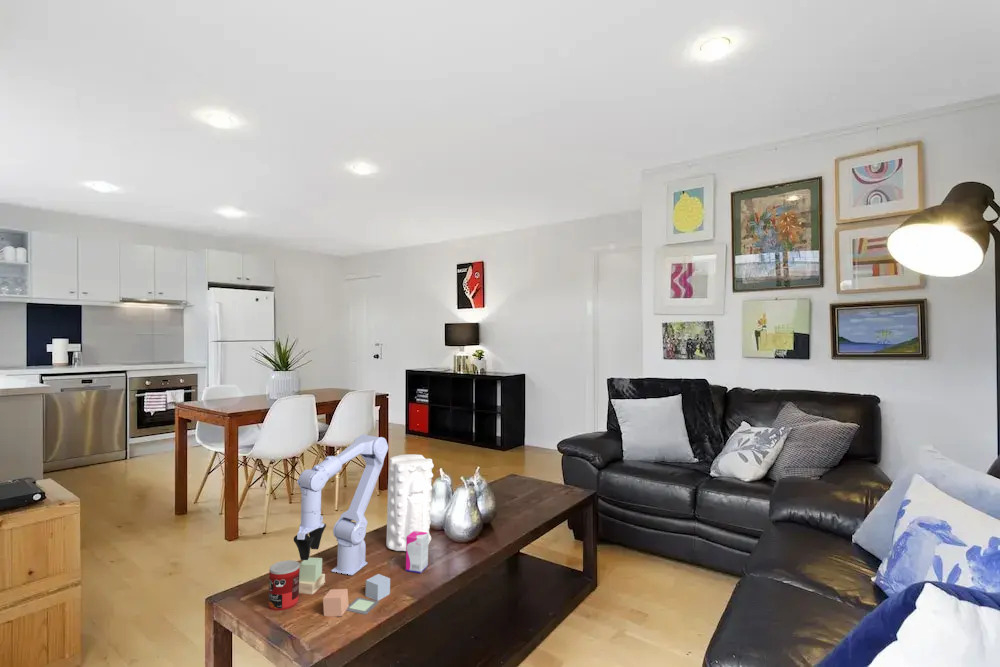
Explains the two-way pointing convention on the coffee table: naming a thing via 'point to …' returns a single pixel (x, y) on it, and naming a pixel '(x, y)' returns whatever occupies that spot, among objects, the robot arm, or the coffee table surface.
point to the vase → (408, 498)
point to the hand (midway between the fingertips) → (309, 554)
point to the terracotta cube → (335, 602)
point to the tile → (362, 606)
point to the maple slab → (311, 585)
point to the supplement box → (417, 551)
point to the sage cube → (310, 569)
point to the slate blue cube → (377, 587)
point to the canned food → (284, 585)
